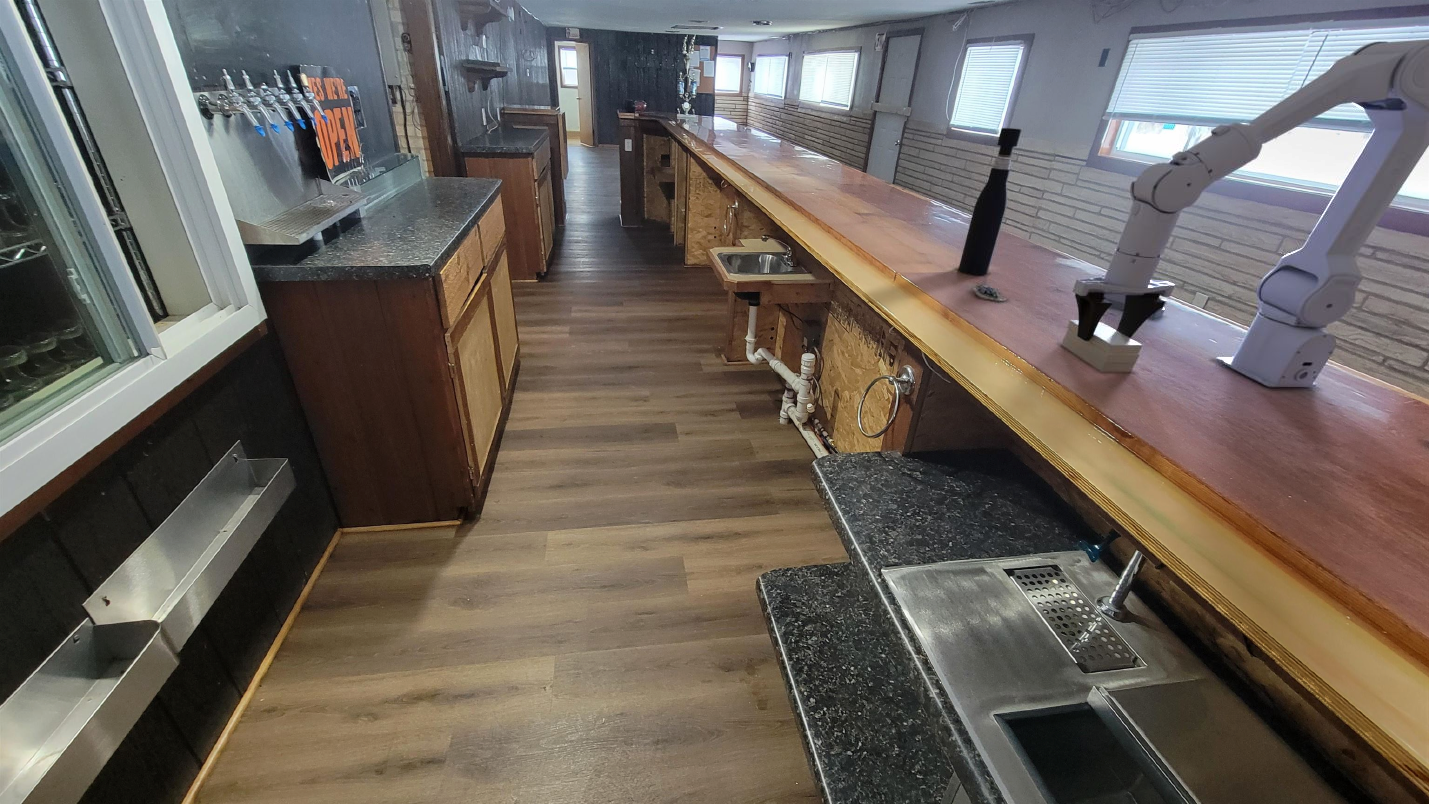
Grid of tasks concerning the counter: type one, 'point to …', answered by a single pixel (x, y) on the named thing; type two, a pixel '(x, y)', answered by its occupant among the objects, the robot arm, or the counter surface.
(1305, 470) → the counter surface
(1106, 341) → the white book
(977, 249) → the wine bottle
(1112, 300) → the grey books
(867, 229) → the counter surface
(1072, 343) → the cream rectangular block
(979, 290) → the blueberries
